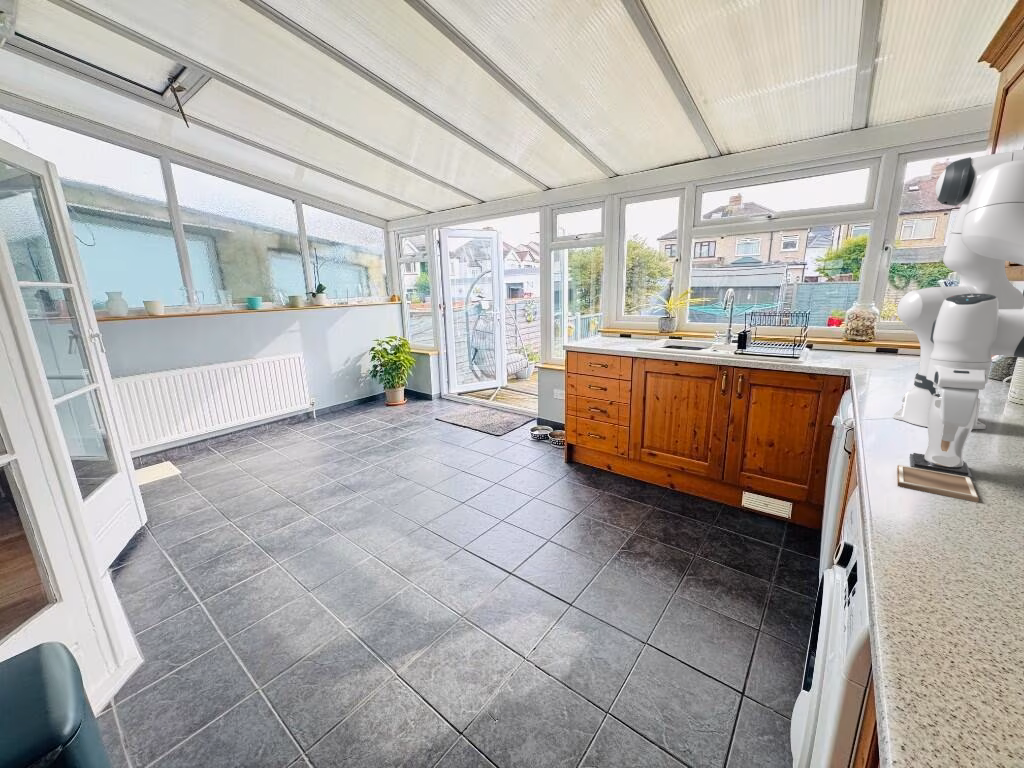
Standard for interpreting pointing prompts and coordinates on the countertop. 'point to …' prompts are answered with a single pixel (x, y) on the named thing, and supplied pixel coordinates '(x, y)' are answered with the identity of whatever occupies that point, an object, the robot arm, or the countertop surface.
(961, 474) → the ink pad
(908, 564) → the countertop surface
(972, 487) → the board
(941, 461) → the beer glass
